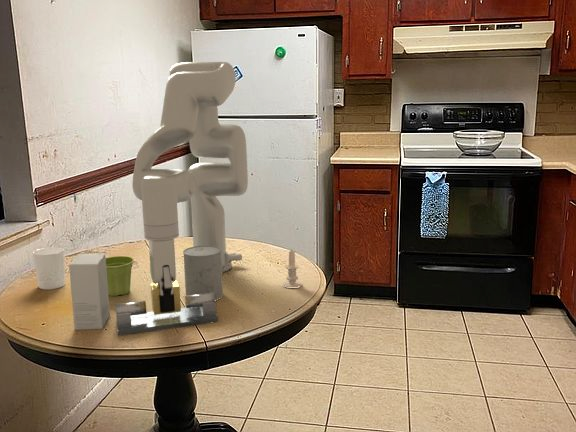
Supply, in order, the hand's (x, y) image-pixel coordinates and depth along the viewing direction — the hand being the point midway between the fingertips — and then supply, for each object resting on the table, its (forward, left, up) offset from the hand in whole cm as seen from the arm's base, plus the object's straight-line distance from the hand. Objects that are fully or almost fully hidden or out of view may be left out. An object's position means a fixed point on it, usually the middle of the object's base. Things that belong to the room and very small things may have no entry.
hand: (166, 306), depth 130 cm
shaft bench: (0, 0, -3) cm, 3 cm away
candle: (-35, -13, -4) cm, 37 cm away
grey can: (-11, -13, -4) cm, 17 cm away
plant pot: (+10, -24, -4) cm, 26 cm away
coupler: (0, 0, -1) cm, 1 cm away
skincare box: (+16, -5, -4) cm, 17 cm away
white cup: (+27, -36, -4) cm, 45 cm away
